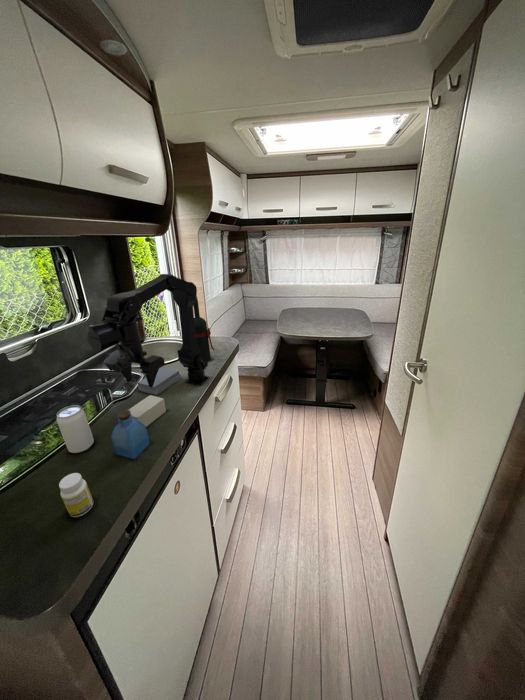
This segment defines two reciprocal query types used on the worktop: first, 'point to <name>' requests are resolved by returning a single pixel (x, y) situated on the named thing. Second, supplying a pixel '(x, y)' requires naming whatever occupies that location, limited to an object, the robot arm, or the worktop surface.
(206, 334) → the wine bottle
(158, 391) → the grey books
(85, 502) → the supplement bottle
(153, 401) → the white book
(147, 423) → the white books
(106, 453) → the worktop surface
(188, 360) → the robot arm
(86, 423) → the can
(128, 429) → the perfume bottle
